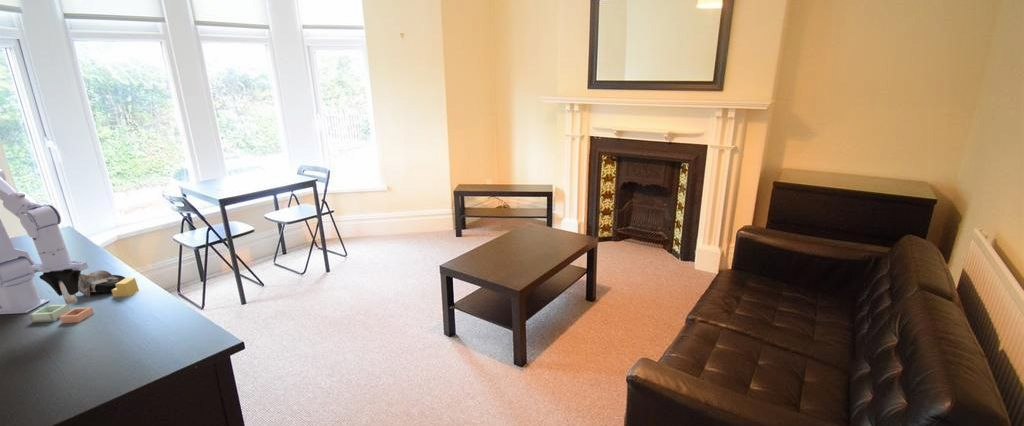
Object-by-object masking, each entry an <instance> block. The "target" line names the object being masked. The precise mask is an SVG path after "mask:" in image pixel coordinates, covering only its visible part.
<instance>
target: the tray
mask: <svg viewBox="0 0 1024 426" xmlns="http://www.w3.org/2000/svg"><path fill="white" fill-rule="evenodd" d="M71 310H72V309H71V308H70V304H66V303H65V304H49V305H48V304H47V305H45V306H43V307H41V308H39V309H37V310H35V311H33V312H31V313H30V314H29V317H30V320H31V322H32V323H46V322H50V323H51V322H56V321H58V320H60V316H62V315H64V314H65V313H67V312H69V311H71Z"/></svg>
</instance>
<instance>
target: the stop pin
mask: <svg viewBox="0 0 1024 426" xmlns="http://www.w3.org/2000/svg"><path fill="white" fill-rule="evenodd" d="M57 282H58V285H59V287H60V290H61V292H62V297H63V300H64V302H65V304H68V305H71V304H75V303H77V302H78V301H79V300H78V297H77V295H76V294H77V293H76V294H74V295H70V294H69V293H68V291H67V289H66V287H65V285H64V284H63V282H62V281H61V280H58V281H57Z"/></svg>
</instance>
